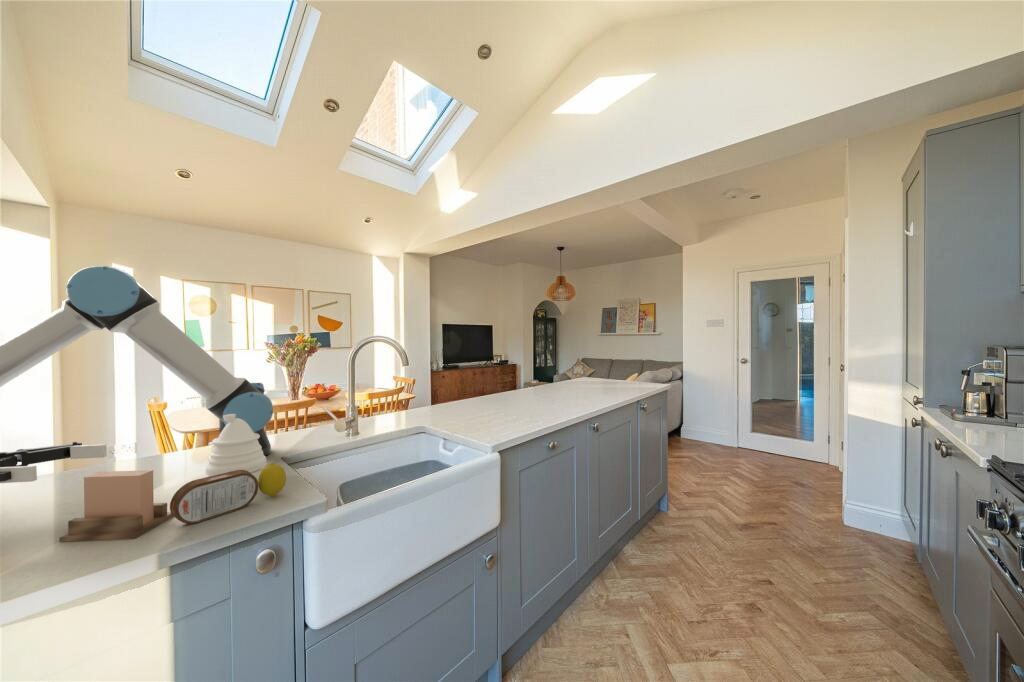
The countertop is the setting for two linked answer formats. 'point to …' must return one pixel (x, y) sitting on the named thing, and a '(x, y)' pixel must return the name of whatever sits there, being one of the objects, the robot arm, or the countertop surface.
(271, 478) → the lemon
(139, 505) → the tan square block
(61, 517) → the countertop surface
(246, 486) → the tin
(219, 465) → the honey pot
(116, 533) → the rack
